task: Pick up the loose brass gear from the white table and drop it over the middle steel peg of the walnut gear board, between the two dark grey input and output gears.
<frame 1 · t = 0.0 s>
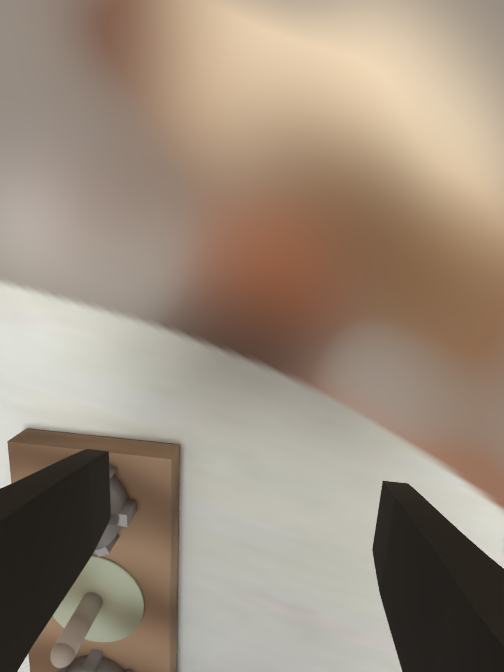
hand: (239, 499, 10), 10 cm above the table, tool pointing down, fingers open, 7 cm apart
gear board: (106, 576, 24), on the table
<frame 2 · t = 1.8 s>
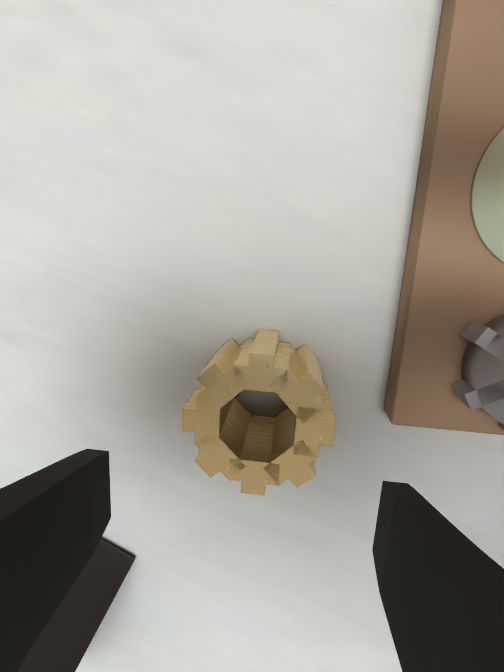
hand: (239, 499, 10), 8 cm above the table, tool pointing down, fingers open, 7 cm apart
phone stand: (61, 581, 22), on the table
brass gear: (264, 388, 18), on the table
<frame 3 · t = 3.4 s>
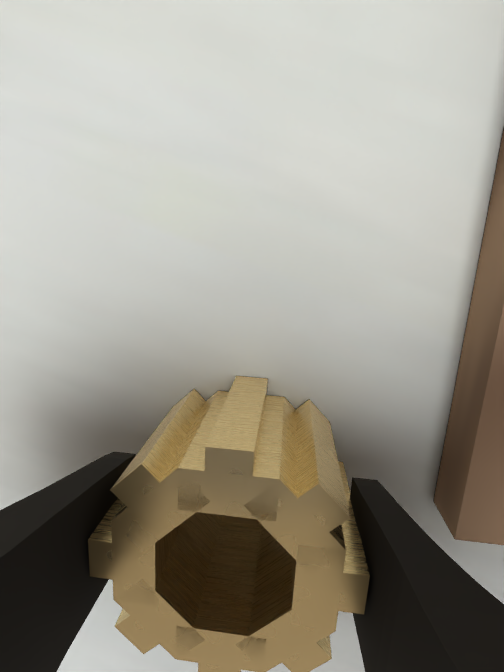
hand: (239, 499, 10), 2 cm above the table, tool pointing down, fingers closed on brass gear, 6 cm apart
brass gear: (246, 465, 11), on the table, touching gripper
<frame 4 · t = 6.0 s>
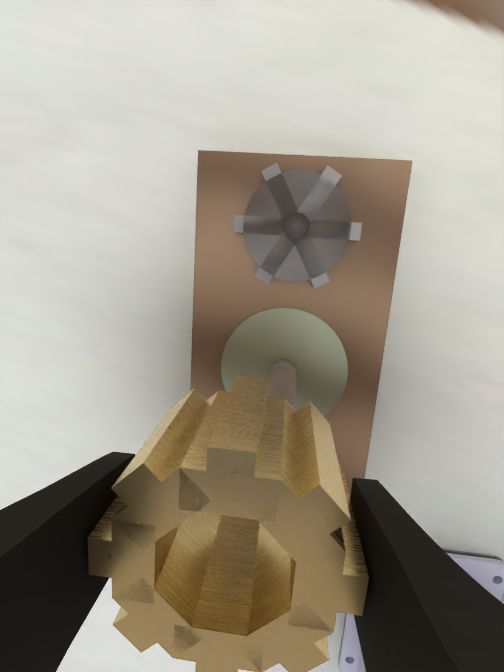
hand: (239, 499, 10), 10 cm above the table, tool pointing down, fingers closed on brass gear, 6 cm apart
brass gear: (245, 465, 11), point 9 cm above the table, touching gripper
gear board: (284, 360, 20), on the table
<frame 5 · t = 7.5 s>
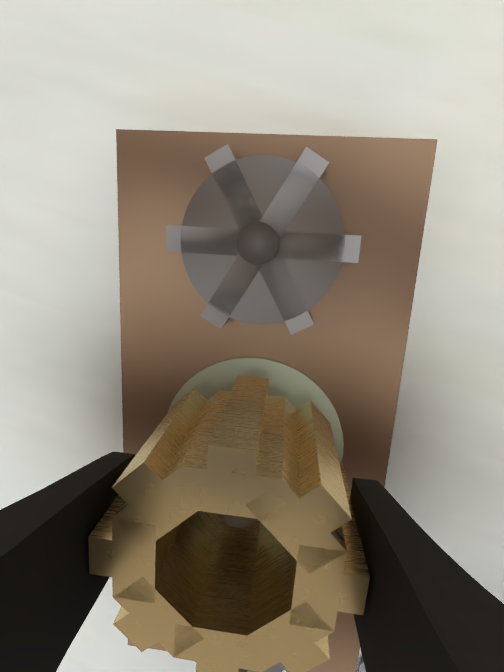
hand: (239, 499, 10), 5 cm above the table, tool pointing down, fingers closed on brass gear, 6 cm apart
brass gear: (246, 465, 11), point 3 cm above the table, touching gripper
gear board: (256, 422, 14), on the table
when the fingers open (4 cm above the table, at t = 8.6 s): brass gear stays where it is, resting on gear board.
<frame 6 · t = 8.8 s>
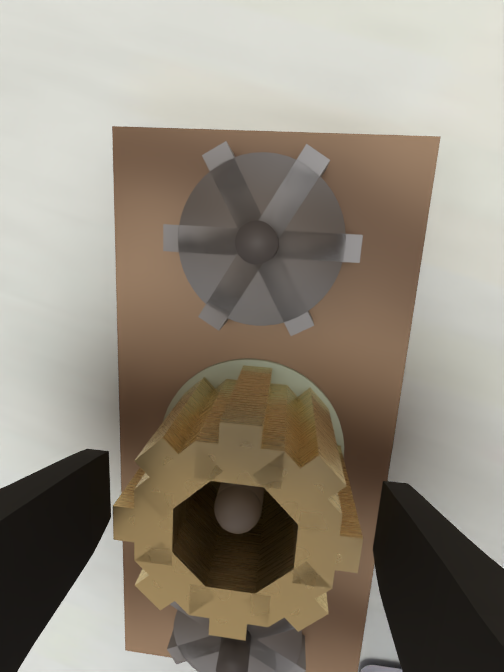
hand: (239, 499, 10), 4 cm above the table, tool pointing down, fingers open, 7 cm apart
brass gear: (251, 448, 12), point 2 cm above the table, touching gear board
gear board: (255, 425, 14), on the table
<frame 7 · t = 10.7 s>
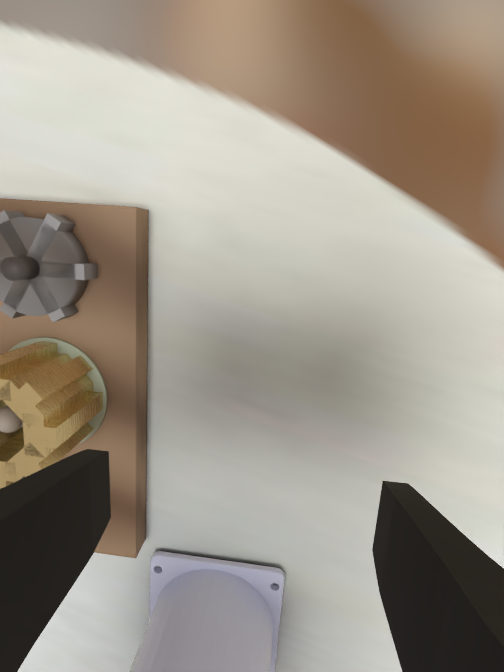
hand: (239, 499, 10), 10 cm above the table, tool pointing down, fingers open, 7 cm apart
brass gear: (50, 394, 20), point 2 cm above the table, touching gear board
gear board: (68, 383, 21), on the table
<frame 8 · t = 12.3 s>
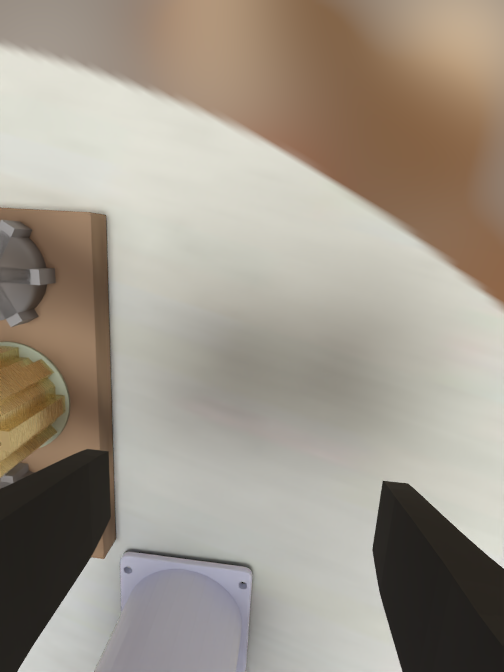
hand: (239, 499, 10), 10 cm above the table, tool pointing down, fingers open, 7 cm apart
brass gear: (14, 398, 20), point 2 cm above the table, touching gear board
gear board: (34, 386, 22), on the table
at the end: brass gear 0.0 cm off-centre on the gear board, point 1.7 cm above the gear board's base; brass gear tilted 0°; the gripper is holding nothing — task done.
